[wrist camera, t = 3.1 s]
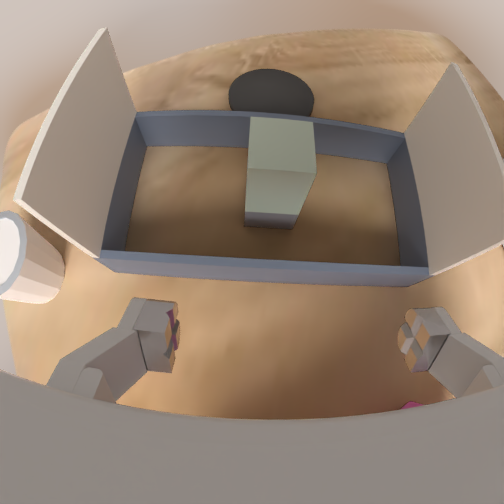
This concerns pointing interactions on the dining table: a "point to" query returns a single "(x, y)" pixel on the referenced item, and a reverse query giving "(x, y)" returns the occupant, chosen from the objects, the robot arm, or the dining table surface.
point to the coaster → (271, 93)
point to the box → (278, 171)
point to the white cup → (27, 262)
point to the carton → (237, 135)
